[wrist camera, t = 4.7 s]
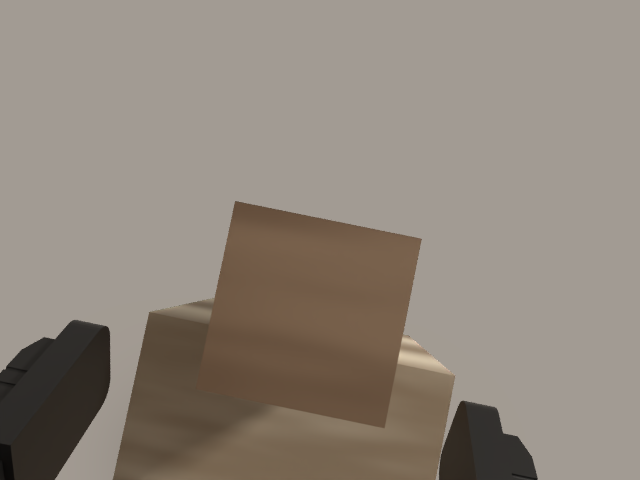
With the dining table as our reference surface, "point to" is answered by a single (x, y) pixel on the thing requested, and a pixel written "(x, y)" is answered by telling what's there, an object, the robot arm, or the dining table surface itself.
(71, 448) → the robot arm
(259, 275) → the block
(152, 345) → the pedestal
